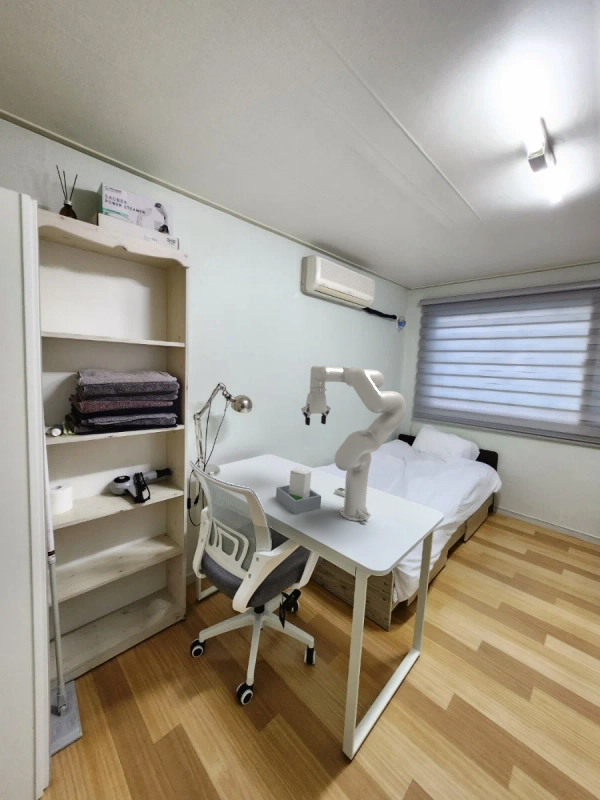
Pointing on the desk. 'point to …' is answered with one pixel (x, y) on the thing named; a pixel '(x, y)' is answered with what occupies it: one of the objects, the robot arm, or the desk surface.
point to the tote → (301, 504)
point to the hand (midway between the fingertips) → (315, 424)
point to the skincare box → (299, 483)
